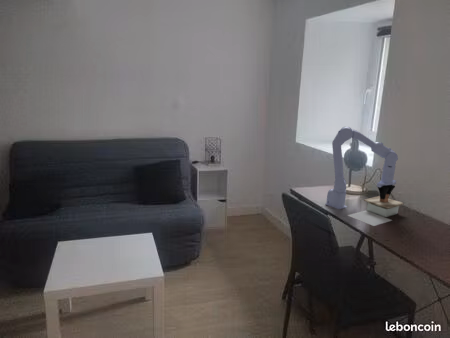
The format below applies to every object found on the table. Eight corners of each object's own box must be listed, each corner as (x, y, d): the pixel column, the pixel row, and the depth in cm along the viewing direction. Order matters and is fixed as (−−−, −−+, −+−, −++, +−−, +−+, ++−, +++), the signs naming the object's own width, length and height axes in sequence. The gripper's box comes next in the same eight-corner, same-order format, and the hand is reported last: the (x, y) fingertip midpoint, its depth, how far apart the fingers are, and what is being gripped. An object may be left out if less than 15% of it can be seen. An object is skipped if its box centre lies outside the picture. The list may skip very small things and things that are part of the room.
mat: (346, 215, 178) (346, 215, 178) (365, 210, 186) (365, 210, 186) (373, 226, 165) (373, 226, 165) (392, 220, 174) (392, 220, 174)
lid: (363, 200, 185) (365, 192, 184) (379, 197, 193) (380, 188, 192) (388, 208, 174) (389, 199, 173) (403, 204, 182) (404, 195, 181)
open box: (366, 210, 186) (367, 203, 185) (378, 207, 192) (379, 200, 191) (385, 217, 177) (386, 209, 176) (397, 214, 183) (398, 206, 182)
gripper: (387, 177, 173) (383, 202, 176) (403, 173, 180) (399, 198, 184) (374, 173, 178) (370, 198, 182) (390, 170, 186) (386, 194, 189)
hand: (384, 198), depth 183 cm, fingers closed on lid, 3 cm apart
